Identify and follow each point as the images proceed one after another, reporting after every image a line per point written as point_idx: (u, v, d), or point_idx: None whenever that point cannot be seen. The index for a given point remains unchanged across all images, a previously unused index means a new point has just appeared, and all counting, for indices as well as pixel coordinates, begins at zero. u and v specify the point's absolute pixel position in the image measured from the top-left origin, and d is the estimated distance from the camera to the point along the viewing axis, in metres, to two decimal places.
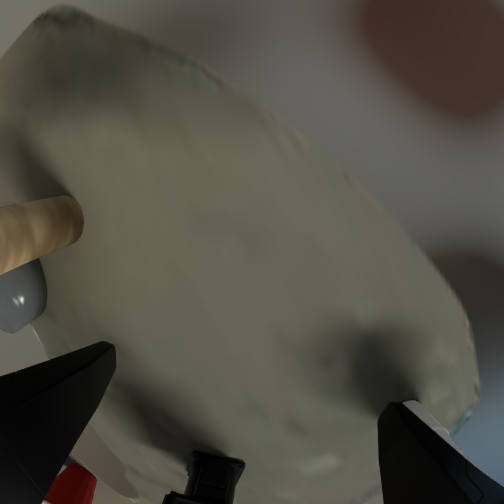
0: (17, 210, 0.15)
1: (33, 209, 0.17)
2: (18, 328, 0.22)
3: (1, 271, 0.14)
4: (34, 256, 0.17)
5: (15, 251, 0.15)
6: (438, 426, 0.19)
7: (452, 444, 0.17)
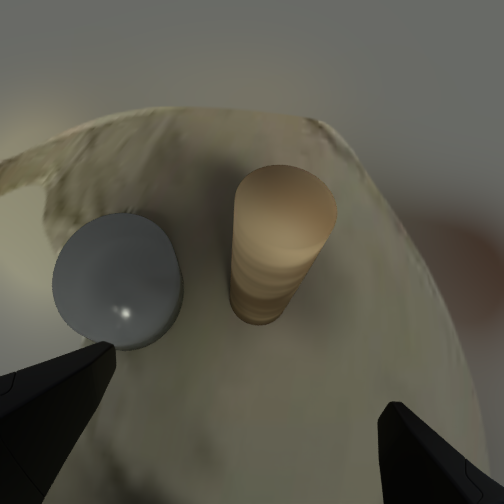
0: None
1: None
2: (100, 338, 0.17)
3: (282, 277, 0.14)
4: (274, 300, 0.17)
5: (300, 278, 0.15)
6: None
7: None
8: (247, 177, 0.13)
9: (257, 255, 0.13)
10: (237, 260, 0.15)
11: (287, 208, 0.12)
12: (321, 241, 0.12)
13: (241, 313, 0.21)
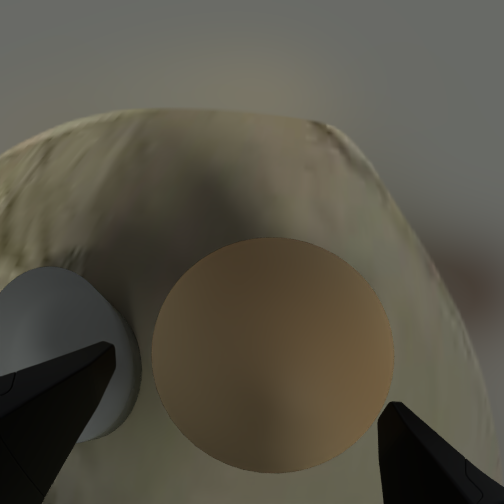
0: None
1: None
2: None
3: None
4: None
5: None
6: None
7: None
8: (186, 278, 0.05)
9: None
10: None
11: (280, 367, 0.05)
12: (353, 439, 0.04)
13: None
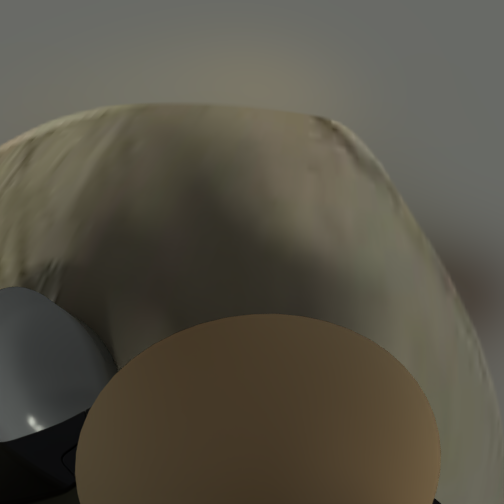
0: None
1: None
2: None
3: None
4: None
5: None
6: None
7: None
8: (114, 387, 0.03)
9: None
10: None
11: None
12: None
13: None
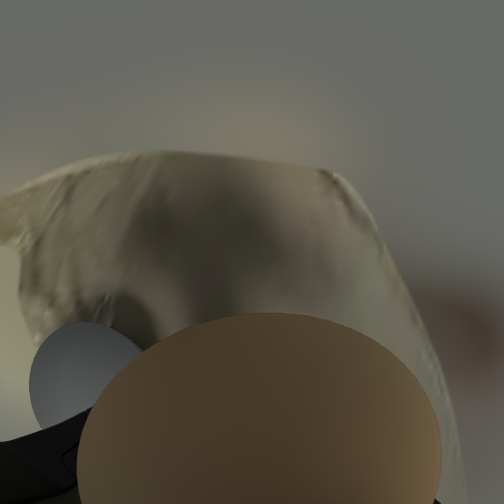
0: None
1: None
2: None
3: None
4: None
5: None
6: None
7: None
8: (116, 386, 0.03)
9: None
10: None
11: None
12: None
13: None
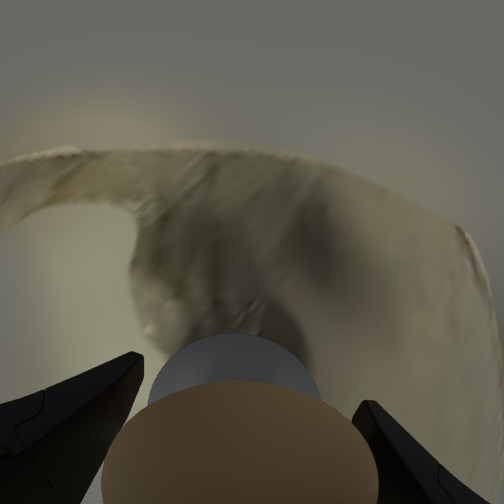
0: None
1: None
2: None
3: None
4: None
5: None
6: None
7: None
8: (127, 431, 0.04)
9: None
10: None
11: None
12: None
13: None
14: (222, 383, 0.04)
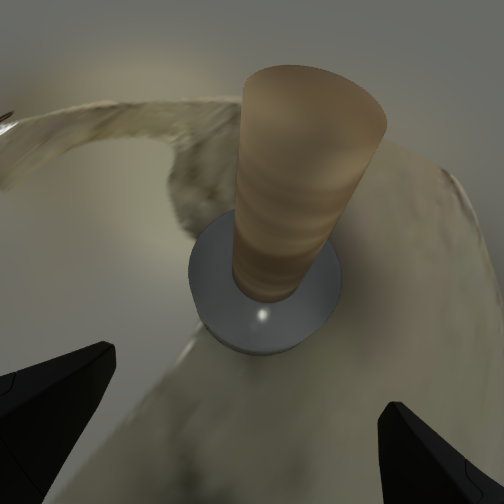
0: None
1: None
2: (243, 340, 0.17)
3: (311, 211, 0.09)
4: (294, 258, 0.13)
5: (333, 221, 0.11)
6: None
7: None
8: (260, 72, 0.08)
9: (276, 167, 0.08)
10: (244, 192, 0.10)
11: (319, 103, 0.08)
12: (372, 144, 0.07)
13: (246, 286, 0.17)
14: None
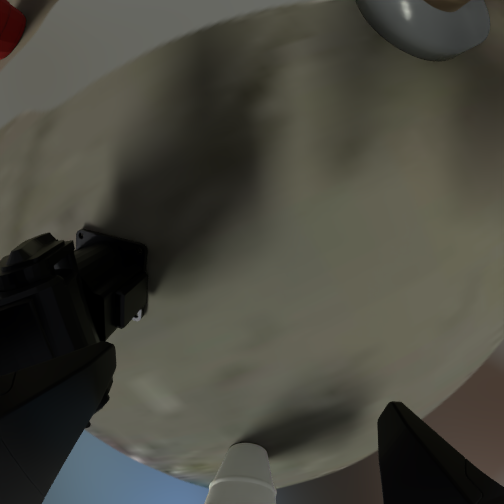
0: None
1: None
2: (390, 2, 0.11)
3: None
4: None
5: None
6: None
7: None
8: None
9: None
10: None
11: None
12: None
13: None
14: None
